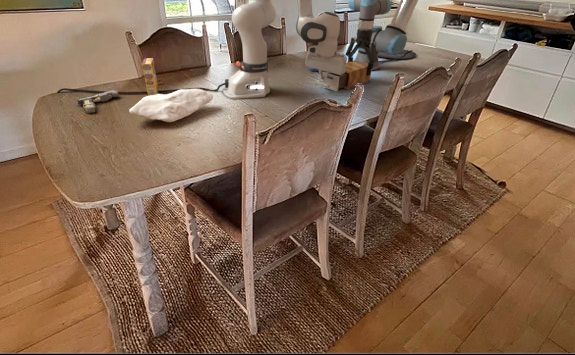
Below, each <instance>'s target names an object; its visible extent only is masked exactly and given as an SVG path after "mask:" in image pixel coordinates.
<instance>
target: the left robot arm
mask: <svg viewBox="0 0 575 355" xmlns="http://www.w3.org/2000/svg"><path fill="white" fill-rule="evenodd" d="M297 10H298V11H297V12H298V16H297V20H296V24H295V30H296V33H297V35H298V36H299V37H300V38H301V40H302V41H304V42H305V43H307V44H313V45H311V46H309V47H308V48H307V53H306V56H305V60H306V61H304V64H306V65H305V66H306V67H307V68H309V67H311V68H315V69H319V71H318V74H319V77H320V80H321V79H322V80H325V81H326V80H327V76H328V75H329V74H330V73H334V74H338V75H342V74H344V73H345V71H346V63H348V56H346V55H345V54H344V53H340V52H338V42H339V41H338V38H339V36H340V29H341V17H340V16H339V15H338V14H336V13H334V12H331V11H324V12H322V13H321V14H320V15H317V16H315V17H314V14H313V2H312V0H297ZM276 15H277V14H276V8H275V7H274V5H273V3H272V0H248V3H244V4H241V5H239V6H237V7H236V8H235V9H234V10H233V11H232V14H231V22H232V25H233V27H234V28H235V30H237V32H238V34H239V37H240V40H241V44H242V59H243V60H242V61H236V62H235V65H236V66H237V67H239V69H237V71H236V72H235V73H234V74H232V75H231V76H230V77H229V78H225V79H224V82H223V83H221V84H219V85H218V86H217V88H216V89H210V88H207V87H188V88H187V87H185V89H202V90H204V91H206V92H218V91H220V88H221V87H222V86H224V88H223V91H222V92H223V94H224V95H225V96H226V97H228V98H230V99H233V100H236V99H237V100H238V99H239V100H240V99H253V98H254V99H255V98H264V97H266V95H268V94H269V93H270V92H271V88H270V84H269V78H268V76H269V75H268V72H269V61H268V44H267V42H266V41H265V39H264V37H263V32H262V29H264V28H267V27H269V26H270V25H271V24H273V22H274V21H275V19H276ZM316 43H318V44H316ZM314 44H315V45H314ZM323 72H325V73H326V75H325V76H324V75H323ZM181 89H182V88H176V89H175V88H174V89H162V90H160V89H159V91H158V94H160V93H170V92H171V93H173V92H175V91H177V90H181ZM62 91H71V92H84V93H85V92H86V93H96V94H101V93H104V92H108V91H109V90H92V89H80V88H68V87H63V88H60V89H59V90H57V91H56V93H57V94H59V93H60V92H62ZM117 92H118V94H119V95H120V94H122V95H125V94H126V95H127V94H128V95H130V94H131V95H135V94H136V95H137V94H148V93H147V90H146V91H144V90H143V91H117Z"/></svg>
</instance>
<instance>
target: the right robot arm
mask: <svg viewBox="0 0 575 355" xmlns="http://www.w3.org/2000/svg"><path fill="white" fill-rule="evenodd" d="M418 2H419V0H400V1H399V3H398V5H397V7H396V10H395V12H394V14H393V17H392V18H391V21H390V23H389V24H387V25H386V26H385V28H384V29H383V26H381V25H374V23H375V18H376V17H375V16H381V15H382V16H383V15H386V14H388V13H389V12H390V11H391V9H392V1H391V0H348V2H347V3H348V8H349V9H350V10H352V11H355V12H359V15H358V16H359V17H358V23H357V29H356V30H357V31H356V37H355V36H354V37H351V38H350V43H349V45H348V47H347V49H346V52H345V54H344V55H345V56H346V57H347V63H348V62H351V61H359V62H363V63H367V64H368V68H367V74H366V75H367V76H368V75H370V74H371V75H372V71H376V70H377V71H378V69H379V68H380V64H381V63H387V62H395V61H399V60H400V59H399V58H397V59H395V58H391V59H386V60H385V59H384V60H379V56H378V52H381V53H385V54H388V55H398V54H400V53H401V52H402V51H403V49H404V50H405V47H406V45H407V41H408V37H407V31H406V29H407V26H408V24H409V21H410V19H411V17H412V16H413V14H414V13H413V12H414V11H415V8H416V6H417V4H418ZM356 52H357V54H356ZM409 52H414V51H413V49H411V50H408V52H406V53H405V54H404V55H403V56H402V57H404V56H405V55H406V54H407V53H409ZM355 54H356V56H355V58H354V57H353V56H354V55H355ZM402 57H400V58H402ZM371 69H372V71H371Z"/></svg>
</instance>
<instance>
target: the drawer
mask: <svg viewBox="0 0 575 355" xmlns="http://www.w3.org/2000/svg"><path fill="white" fill-rule="evenodd" d="M323 75H324V76H325V75H326V71H323ZM348 78H349V73H346V72H345V73H344V74H342V75H338V74H334V73H330V74H329V75H328V76H327V80H326V81H325V80H322V79H320V80H315V82H314V84H315V85H317V86H320V87H321V88H325V89H328V90H332V91H334V92H338V91H339V89H342V88H343V87H345V86H347V85H348Z"/></svg>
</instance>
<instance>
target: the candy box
mask: <svg viewBox="0 0 575 355" xmlns="http://www.w3.org/2000/svg"><path fill="white" fill-rule="evenodd" d="M141 66H142V73H143V78H144V82H145V87H146V91H147V93H146V94H147V96H150V95H156V94H159V93H158V91H160V89H159V84H158V79H157V73H156V66H155V62H154V58H153V57H151V58H150V57H149V58H146V57H145V58H143V60H142V63H141Z"/></svg>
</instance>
